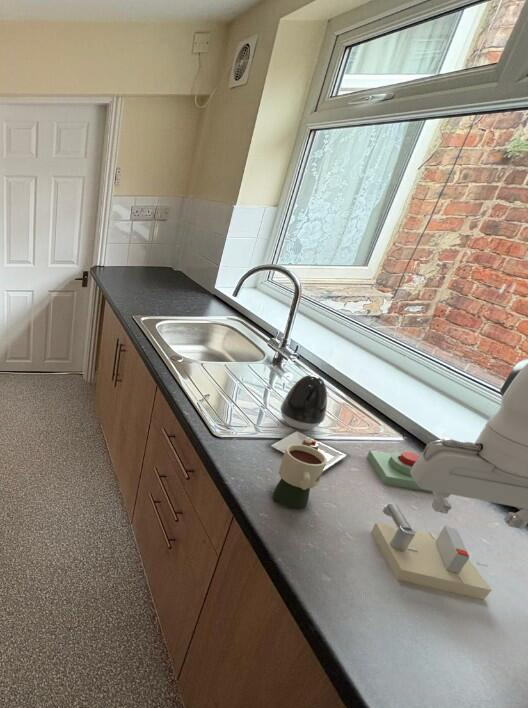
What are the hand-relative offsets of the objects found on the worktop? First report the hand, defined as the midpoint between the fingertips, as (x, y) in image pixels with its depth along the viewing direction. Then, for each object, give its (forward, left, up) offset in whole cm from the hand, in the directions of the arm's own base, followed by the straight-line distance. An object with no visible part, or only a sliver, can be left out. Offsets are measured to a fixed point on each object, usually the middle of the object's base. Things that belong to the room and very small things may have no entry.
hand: (474, 517), depth 68 cm
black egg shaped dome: (+13, -45, -14) cm, 48 cm away
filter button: (-5, -29, -10) cm, 31 cm away
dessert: (+14, -31, -14) cm, 36 cm away
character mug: (+22, -11, -14) cm, 28 cm away
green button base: (-5, -29, -13) cm, 32 cm away
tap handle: (0, 0, -10) cm, 10 cm away
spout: (+7, -3, -10) cm, 13 cm away
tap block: (+2, 0, -13) cm, 13 cm away
